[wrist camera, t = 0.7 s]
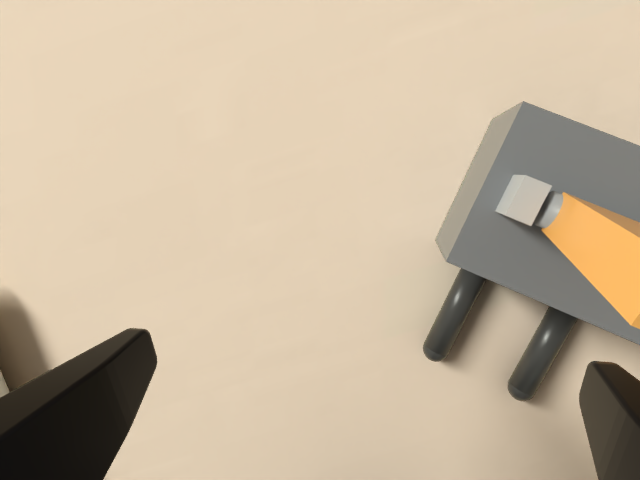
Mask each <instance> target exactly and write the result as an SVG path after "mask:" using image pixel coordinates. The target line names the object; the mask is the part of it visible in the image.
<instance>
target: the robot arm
mask: <svg viewBox="0 0 640 480" xmlns="http://www.w3.org/2000/svg"><path fill="white" fill-rule="evenodd" d="M156 365H157V356H156V352H155V349H154V346H153V342H152V339H151V335H150V333H149V332H148V331H147V330H146V329H137V328H129V329H127V330H125V331H123V332H121V333H119V334H117V335H115V336H114V337H112V338H110V339H108V340H106V341H104V342H102V343H101V344H99V345H97V346H95V347H93V348H91V349H89V350H87V351H86V352H84V353H82V354H80V355H78V356H76V357H74V358H73V359H71V360H69V361H67V362H65V363H63V364H61V365H60V366H58V367H56V368H54V369H52V370H50V371H48V372H47V373H45V374H43V375H41V376H39V377H37V378H35V379H34V380H32V381H30V382H28V383H26V384H24V385H22V386H21V387H19V388H17V389H15V390H13V391H11V392H9V393H8V394H6V395H4V396H2V397H0V480H103V479H104V477H105V475H106V473H107V471H108V469H109V468H110V466H111V464H112V462H113V460H114V458H115V457H116V455H117V453H118V451H119V449H120V447H121V445H122V444H123V442H124V440H125V438H126V436H127V434H128V432H129V430H130V428H131V426H132V423H133V421H134V419H135V417H136V414H137V412H138V409H139V407H140V405H141V402H142V400H143V398H144V395H145V393H146V390H147V388H148V386H149V383H150V381H151V379H152V376H153V374H154V371H155V369H156ZM579 402H580V408H581V412H582V416H583V420H584V424H585V428H586V432H587V436H588V440H589V444H590V448H591V452H592V456H593V460H594V464H595V468H596V472H597V475H598V479H599V480H640V381H639V380H638V379H636V378H635V377H634V376H632V375H631V374H630V373H628V372H627V371H626V370H624V369H623V368H622V367H620V366H619V365H617V364H615V363H612V362H599V361H593V362H590V363H589V364H588V366H587V369H586V372H585V376H584V379H583V383H582V386H581V390H580V394H579Z"/></svg>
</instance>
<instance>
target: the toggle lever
mask: <svg viewBox="0 0 640 480" xmlns="http://www.w3.org/2000/svg"><path fill="white" fill-rule="evenodd" d="M534 224H535V225H536V226H539V227H541V228H542V229H541V231H542V232H543V233H544V234H545V235H546V236H547V237H548V238H549V239H550V240H551V241H552V242H553V243H554V244H555V245H556V246H557V248H558V249H559V250H560V251H561V252H562V253H563V254H564V255H565V256H566V257H567V258H568V259H569V260H570V261H571V262H572V263H573V265H574V266H575V267H576V268H577V269H578V270H579V271H580V272H581V273H582V274H583V275H584V276H585V277H586V278H587V279H588V280H589V282H590V283H591V284H592V285H593V286H594V287H595V288H596V289H597V290H598V291H599V292H600V293H601V294H602V295H603V296H604V297H605V299H606V300H607V301H608V302H609V303H610V304H611V305H612V306H613V307H614V308H615V309H616V310H617V311H618V312H619V313H620V314H621V315H622V317H623V318H624V319H625V320H626V321H627V322H628V323H629V324H630V325H631V326H633V327H636V328H638V329H640V222H637V221H635V220H632V219H630V218H627V217H625V216H622V215H620V214H617V213H615V212H612V211H610V210H607V209H605V208H602V207H600V206H597V205H595V204H592V203H590V202H587V201H585V200H583V199H580V198H578V197H575V196H573V195H570V194H568V193H565V192H563V193H562V194H560V193H558V192H555V191H551V192H549V193H548V195H547V197H546V199H545V201H544V202H543V204H542V206H541V208H540V210H539V212H538V214H537V216H536V218H535V220H534Z"/></svg>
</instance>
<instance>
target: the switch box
mask: <svg viewBox="0 0 640 480" xmlns="http://www.w3.org/2000/svg"><path fill="white" fill-rule="evenodd" d="M551 191H555V192H558V193H560V194H562V193H563V192H565V193H568V194H570V195H573V196H575V197H578V198H580V199H583V200H585V201H587V202H590V203H592V204H595V205H597V206H600V207H602V208H605V209H607V210H610V211H612V212H615V213H617V214H620V215H622V216H625V217H627V218H630V219H632V220H635V221H637V222H640V146H639V145H636V144H633V143H631V142H628V141H626V140H623V139H620V138H618V137H615V136H613V135H610V134H607V133H605V132H602V131H599V130H597V129H594V128H592V127H589V126H586V125H584V124H581V123H579V122H576V121H573V120H571V119H568V118H566V117H563V116H560V115H558V114H555V113H553V112H550V111H547V110H545V109H542V108H539V107H537V106H534V105H532V104H529V103H526V102H524V101H523V102H521V103H519V104H518V105H516V106H514V107H512V108H511V109H509V110H507V111H505V112H504V113H502V114H500V115H499V116H497V117H495V118H493V119H492V121H491V123H490V125H489V127H488V129H487V131H486V134H485V136H484V138H483V140H482V142H481V144H480V146H479V148H478V151H477V153H476V155H475V157H474V159H473V161H472V163H471V165H470V167H469V170H468V172H467V174H466V176H465V178H464V180H463V182H462V184H461V186H460V189H459V191H458V193H457V195H456V197H455V199H454V201H453V203H452V206H451V208H450V210H449V212H448V214H447V216H446V218H445V220H444V222H443V225H442V227H441V229H440V231H439V233H438V235H437V237H436V239H435V241H436V243H437V245H438V247H439V249H440V251H441V253H442V255H443V257H444V259H445V261H446V262H448V263H451V264H453V265H455V266H458V267H460V268H461V269H460V271H459V273H458V275H457V277H456V280H455V282H454V284H453V286H452V288H451V290H450V292H449V294H448V296H447V298H446V300H445V302H444V304H443V306H442V308H441V310H440V312H439V314H438V316H437V318H436V320H435V322H434V324H433V326H432V328H431V330H430V332H429V334H428V336H427V338H426V340H425V342H424V345H423V351H424V354H425V355H426V357H427V358H428V359H430V360H432V361H435V362H438V361H442V360H444V359H445V358H446V357H447V355H448V353H449V352H450V350H451V348H452V346H453V344H454V342H455V340H456V338H457V336H458V334H459V332H460V330H461V328H462V326H463V324H464V322H465V320H466V318H467V316H468V314H469V312H470V310H471V308H472V306H473V304H474V302H475V300H476V299H477V297H478V295H479V293H480V291H481V289H482V287H483V285H484V283H485V281H486V279H488V280H490V281H493V282H495V283H497V284H499V285H502V286H504V287H506V288H509V289H511V290H513V291H516V292H518V293H520V294H523V295H525V296H527V297H530V298H532V299H534V300H537V301H539V302H541V303H544V304H546V305H548V306H550V307H549V309H548V310H547V312H546V314H545V316H544V318H543V319H542V321H541V323H540V325H539V327H538V329H537V330H536V332H535V334H534V336H533V338H532V339H531V341H530V343H529V345H528V347H527V349H526V350H525V352H524V354H523V356H522V358H521V359H520V361H519V363H518V365H517V367H516V368H515V370H514V372H513V374H512V376H511V378H510V379H509V382H508V390H509V393H510V394H511V395H512V397H514V398H515V399H517V400H520V401H527V400H530V399H531V398H532V397H533V396H534V395H535V393H536V391H537V389H538V388H539V386H540V384H541V382H542V381H543V379H544V377H545V375H546V374H547V372H548V370H549V368H550V367H551V365H552V363H553V361H554V360H555V358H556V356H557V354H558V353H559V351H560V349H561V347H562V345H563V344H564V342H565V340H566V338H567V337H568V335H569V333H570V331H571V330H572V328H573V326H574V324H575V323H576V321H577V319H581V320H583V321H585V322H588V323H590V324H592V325H595V326H597V327H599V328H602V329H604V330H606V331H609V332H611V333H613V334H616V335H618V336H620V337H622V338H625V339H627V340H629V341H632V342H634V343H636V344H639V345H640V329H638V328H636V327H633V326H631V325H630V324H629V323H628V322H627V321H626V320H625V319H624V318H623V317H622V315H621V314H620V313H619V312H618V311H617V310H616V309H615V308H614V307H613V306H612V305H611V304H610V303H609V302H608V301H607V300H606V299H605V297H604V296H603V295H602V294H601V293H600V292H599V291H598V290H597V289H596V288H595V287H594V286H593V285H592V284H591V283H590V282H589V280H588V279H587V278H586V277H585V276H584V275H583V274H582V273H581V272H580V271H579V270H578V269H577V268H576V267H575V266H574V265H573V263H572V262H571V261H570V260H569V259H568V258H567V257H566V256H565V255H564V254H563V253H562V252H561V251H560V250H559V249H558V248H557V246H556V245H555V244H554V243H553V242H552V241H551V240H550V239H549V238H548V237H547V236H546V235H545V234H544V233H543V232H542V231H541V229H542V228H541V227H539V226H536V225H535V224H534V220H535V218H536V216H537V214H538V212H539V210H540V208H541V206H542V204H543V202H544V201H545V199H546V197H547V195H548V193H549V192H551Z"/></svg>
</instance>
